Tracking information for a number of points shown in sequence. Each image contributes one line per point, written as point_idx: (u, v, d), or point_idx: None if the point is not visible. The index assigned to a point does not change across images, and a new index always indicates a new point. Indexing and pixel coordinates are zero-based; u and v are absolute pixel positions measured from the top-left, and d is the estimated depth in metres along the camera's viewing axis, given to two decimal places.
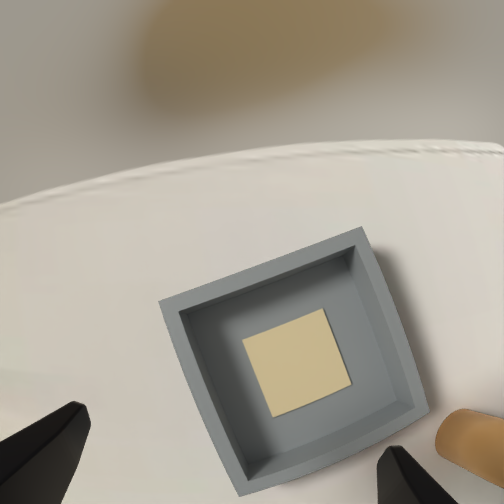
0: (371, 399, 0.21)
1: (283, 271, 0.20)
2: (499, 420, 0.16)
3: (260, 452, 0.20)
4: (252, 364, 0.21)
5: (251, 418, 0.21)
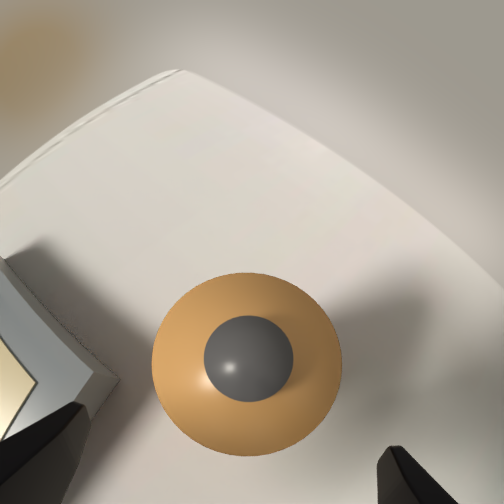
0: None
1: None
2: None
3: None
4: None
5: None
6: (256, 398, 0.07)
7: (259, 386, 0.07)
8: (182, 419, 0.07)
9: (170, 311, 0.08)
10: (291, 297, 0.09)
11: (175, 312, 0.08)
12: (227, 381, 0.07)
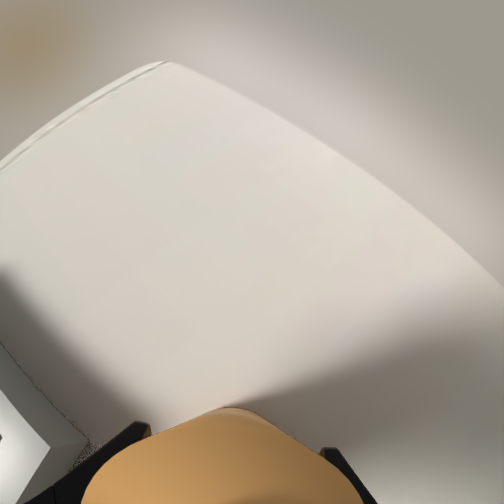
0: None
1: None
2: None
3: None
4: None
5: None
6: None
7: None
8: None
9: (95, 476, 0.04)
10: (297, 467, 0.04)
11: (103, 479, 0.04)
12: None
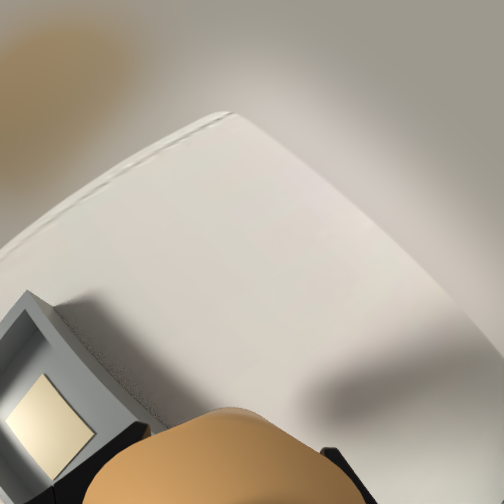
0: None
1: None
2: None
3: None
4: (19, 438, 0.17)
5: (41, 485, 0.15)
6: None
7: None
8: None
9: (97, 476, 0.04)
10: (299, 466, 0.04)
11: (105, 479, 0.04)
12: None
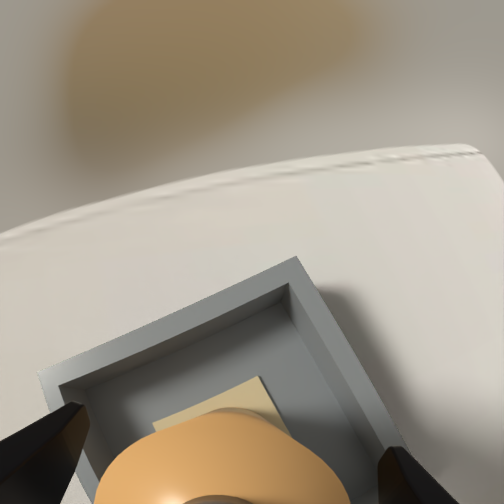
0: (345, 486, 0.13)
1: (185, 329, 0.14)
2: None
3: None
4: None
5: None
6: None
7: None
8: None
9: (109, 467, 0.04)
10: (287, 458, 0.05)
11: (116, 470, 0.04)
12: None
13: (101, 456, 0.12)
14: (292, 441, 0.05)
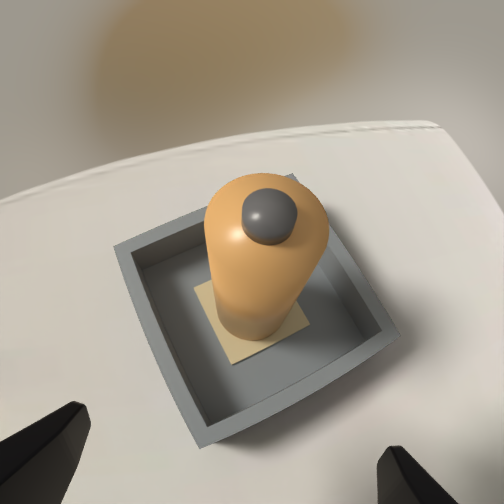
0: (336, 340, 0.22)
1: None
2: None
3: (223, 407, 0.19)
4: (205, 310, 0.22)
5: (209, 368, 0.20)
6: (275, 233, 0.11)
7: (277, 226, 0.11)
8: (225, 257, 0.12)
9: (216, 194, 0.13)
10: (294, 187, 0.13)
11: (219, 194, 0.13)
12: (257, 222, 0.11)
13: (155, 309, 0.21)
14: (295, 181, 0.13)
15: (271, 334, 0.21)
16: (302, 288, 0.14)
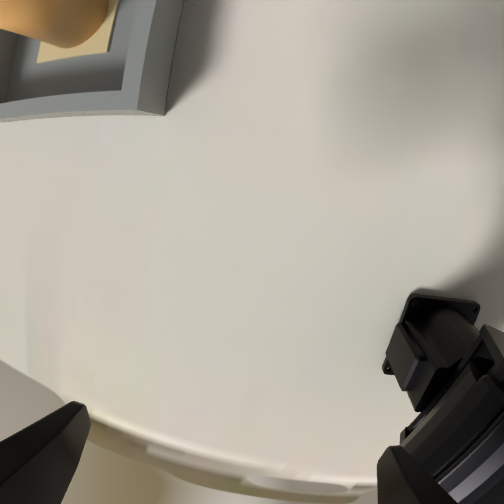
0: None
1: None
2: None
3: None
4: (56, 58, 0.15)
5: (98, 74, 0.16)
6: None
7: None
8: None
9: None
10: None
11: None
12: None
13: None
14: None
15: (107, 6, 0.14)
16: None
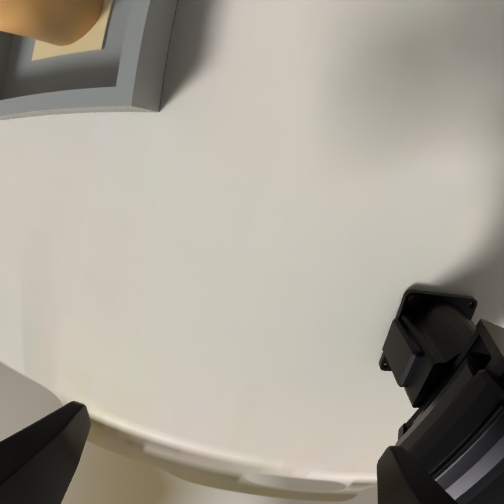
0: None
1: None
2: None
3: None
4: (51, 56, 0.15)
5: (93, 71, 0.16)
6: None
7: None
8: None
9: None
10: None
11: None
12: None
13: None
14: None
15: (102, 3, 0.14)
16: None
